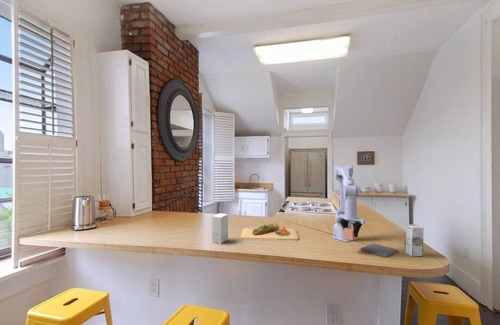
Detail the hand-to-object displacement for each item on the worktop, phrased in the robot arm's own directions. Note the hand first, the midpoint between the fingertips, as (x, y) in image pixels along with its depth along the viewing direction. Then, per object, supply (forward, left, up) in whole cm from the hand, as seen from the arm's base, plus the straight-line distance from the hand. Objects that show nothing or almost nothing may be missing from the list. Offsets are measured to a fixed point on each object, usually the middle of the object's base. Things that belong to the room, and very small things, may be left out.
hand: (350, 235), depth 128 cm
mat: (+8, +13, -8) cm, 17 cm away
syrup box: (+21, +21, -9) cm, 31 cm away
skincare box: (-55, -45, -9) cm, 72 cm away
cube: (0, 0, -2) cm, 2 cm away
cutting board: (-49, -13, -9) cm, 51 cm away
